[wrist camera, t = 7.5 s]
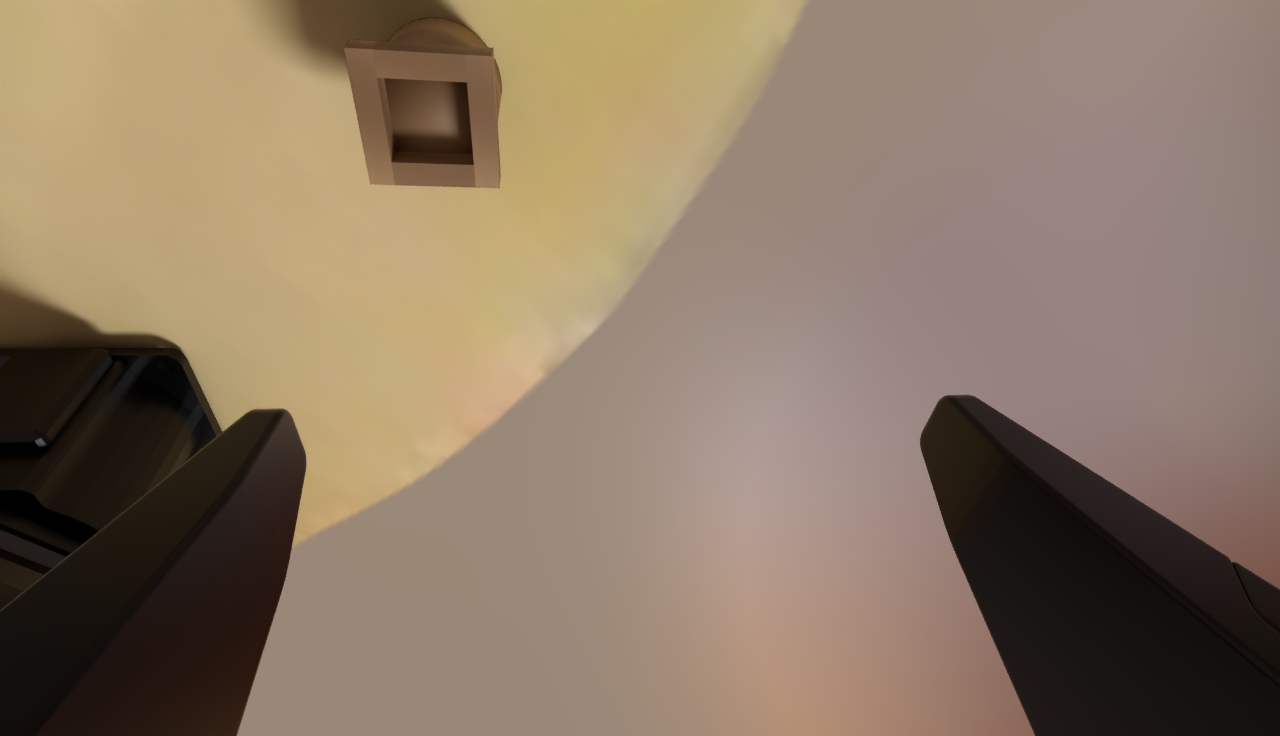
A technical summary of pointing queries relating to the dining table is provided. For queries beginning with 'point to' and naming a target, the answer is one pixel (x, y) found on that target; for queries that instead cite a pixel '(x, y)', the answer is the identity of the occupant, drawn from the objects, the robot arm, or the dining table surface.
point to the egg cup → (428, 106)
